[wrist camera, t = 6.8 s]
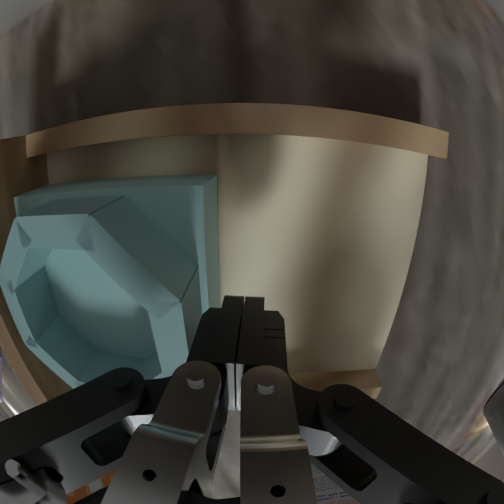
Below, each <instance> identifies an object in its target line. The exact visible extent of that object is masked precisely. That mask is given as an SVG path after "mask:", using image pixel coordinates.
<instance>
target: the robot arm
mask: <svg viewBox="0 0 504 504" xmlns="http://www.w3.org/2000/svg"><path fill="white" fill-rule="evenodd" d="M264 300H265V297H252V296H245V302H244V296H231V295H225V296H224V299H223V303H222V307H221V308H213V307H210V308H209V309H208V310H207V311H206V312H204V313H203V314H202V316H201V319H200V322H199V326H198V328H197V331H196V334H195V336H194V339H193V342H192V345H191V348H190V351H189V354H188V357H187V361H186V363H184V364H182V365H180V366H179V367H177V368H176V369H175V371H174V372H173V374H172V376H169V377H165V378H158V379H147V380H144V377H143V376H142V374H141V373H140V372H139V371H137V370H135V369H133V368H128V367H121V368H116V369H113V370H111V371H109V372H107V373H105V374H103V375H101V376H99V377H97V378H95V379H93V380H91V381H89V382H87V383H85V384H83V385H81V386H78V387H76V388H74V389H72V390H70V391H68V392H66V393H64V394H62V395H60V396H57V397H55V398H53V399H51V400H49V401H47V402H45V403H42V404H40V405H38V406H36V407H34V408H31V409H29V410H27V411H25V412H22V413H20V414H18V415H15V416H13V417H11V418H9V419H6V420H4V421H1V422H0V504H68V502H67V500H66V494H68V493H70V492H72V491H74V490H76V489H79V488H81V487H83V486H85V485H87V484H89V483H91V482H93V481H95V480H97V479H99V478H101V477H103V476H104V475H106V474H108V473H110V472H112V471H114V470H116V471H115V473H114V476H113V478H112V480H111V482H110V484H109V486H107V487H104V488H101V489H99V490H97V491H95V492H94V493H92V494H90V495H88V496H86V497H84V498H82V499H80V500H79V501H77V502H75V503H73V504H317V500H316V493H315V487H314V481H313V475H312V469H311V463H312V464H313V465H315V466H316V467H317V468H318V469H319V470H320V471H321V472H322V473H324V474H325V475H326V476H327V477H328V478H329V479H331V480H332V481H333V482H334V483H335V484H336V485H338V486H339V487H340V488H341V489H343V490H344V491H345V492H346V493H347V494H349V495H350V496H351V497H352V498H354V499H355V500H356V501H358V502H359V503H360V504H504V483H503V482H502V481H501V480H499V479H497V478H495V477H493V476H492V475H490V474H488V473H486V472H485V471H483V470H481V469H480V468H478V467H476V466H475V465H473V464H471V463H470V462H468V461H466V460H465V459H463V458H461V457H460V456H458V455H456V454H455V453H453V452H452V451H450V450H448V449H447V448H445V447H444V446H442V445H441V444H439V443H437V442H436V441H434V440H433V439H431V438H430V437H428V436H427V435H425V434H424V433H422V432H421V431H419V430H418V429H416V428H415V427H413V426H412V425H410V424H409V423H407V422H406V421H404V420H403V419H401V418H400V417H398V416H397V415H395V414H394V413H392V412H391V411H390V410H388V409H387V408H385V407H384V406H382V405H381V404H379V403H378V402H377V401H375V400H374V399H372V398H371V397H370V396H368V395H367V394H365V393H364V392H363V391H361V390H360V389H358V388H357V387H354V386H352V385H348V384H335V385H331V386H329V387H327V388H326V389H324V390H323V391H322V392H320V391H316V390H312V389H308V388H305V387H303V386H300V385H299V384H297V383H296V382H295V381H294V380H293V379H292V378H291V377H290V375H289V373H288V367H287V351H286V335H285V321H284V318H283V317H282V315H281V314H280V313H279V311H270V310H264ZM236 399H237V410H240V411H241V412H240V497H236V498H227V499H211V496H212V490H213V479H214V472H215V468H216V464H217V460H218V456H219V452H220V448H221V444H222V440H223V436H224V431H225V424H226V420H227V413H228V410H235V407H236ZM483 413H484V416H485V418H486V420H487V422H488V424H489V426H490V428H491V430H492V432H493V434H494V436H495V438H496V440H497V443H498V445H499V447H500V449H501V451H502V454H503V456H504V384H503V385H502V386H501V387H500V388H499V389H498V390H497V392H496V393H495V394H494V395H493V396H492V397H491V399H490V400H489V401H488V403H487V404H486V406H485V408H484V411H483ZM310 462H311V463H310Z"/></svg>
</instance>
